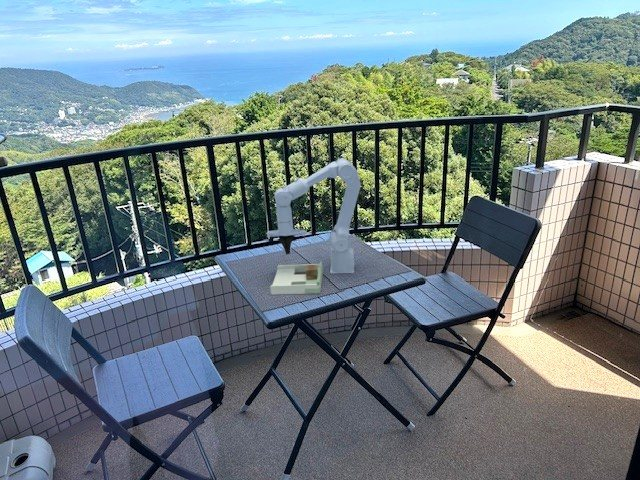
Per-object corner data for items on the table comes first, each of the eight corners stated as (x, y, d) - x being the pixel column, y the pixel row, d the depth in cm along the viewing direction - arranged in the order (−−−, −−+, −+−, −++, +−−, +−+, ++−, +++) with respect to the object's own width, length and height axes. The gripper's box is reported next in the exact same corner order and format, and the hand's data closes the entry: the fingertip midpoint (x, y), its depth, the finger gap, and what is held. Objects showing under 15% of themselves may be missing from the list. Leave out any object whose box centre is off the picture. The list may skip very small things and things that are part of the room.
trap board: (322, 271, 176) (322, 261, 174) (320, 293, 159) (319, 282, 158) (278, 273, 178) (277, 262, 176) (271, 294, 161) (269, 283, 159)
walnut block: (317, 273, 170) (316, 264, 168) (318, 279, 166) (317, 269, 164) (305, 275, 170) (305, 265, 168) (306, 280, 166) (305, 270, 164)
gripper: (304, 216, 170) (307, 248, 175) (267, 217, 171) (271, 249, 176) (303, 222, 164) (305, 255, 168) (264, 223, 165) (268, 257, 170)
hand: (288, 253), depth 172 cm, fingers closed
